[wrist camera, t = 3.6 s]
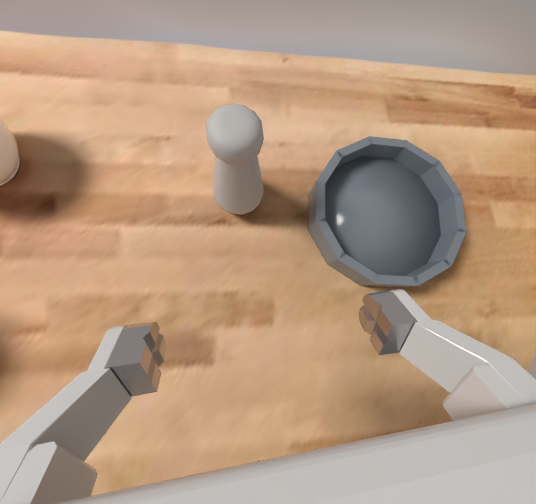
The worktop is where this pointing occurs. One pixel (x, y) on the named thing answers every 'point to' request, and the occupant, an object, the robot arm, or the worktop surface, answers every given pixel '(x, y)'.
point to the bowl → (386, 214)
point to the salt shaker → (236, 157)
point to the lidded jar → (8, 154)
